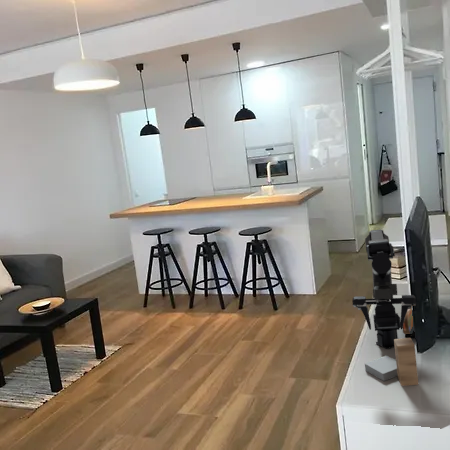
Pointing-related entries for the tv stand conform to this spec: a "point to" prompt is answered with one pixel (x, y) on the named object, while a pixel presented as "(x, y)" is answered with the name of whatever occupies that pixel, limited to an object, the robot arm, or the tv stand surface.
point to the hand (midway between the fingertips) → (385, 329)
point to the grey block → (382, 368)
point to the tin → (408, 322)
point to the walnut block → (406, 361)
